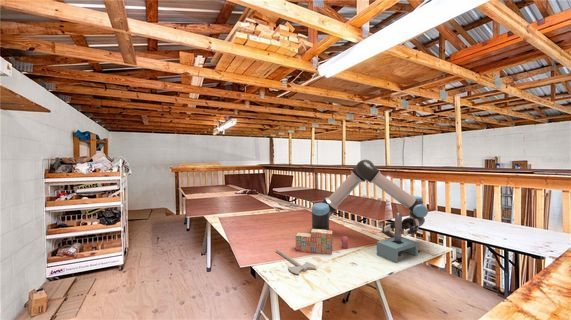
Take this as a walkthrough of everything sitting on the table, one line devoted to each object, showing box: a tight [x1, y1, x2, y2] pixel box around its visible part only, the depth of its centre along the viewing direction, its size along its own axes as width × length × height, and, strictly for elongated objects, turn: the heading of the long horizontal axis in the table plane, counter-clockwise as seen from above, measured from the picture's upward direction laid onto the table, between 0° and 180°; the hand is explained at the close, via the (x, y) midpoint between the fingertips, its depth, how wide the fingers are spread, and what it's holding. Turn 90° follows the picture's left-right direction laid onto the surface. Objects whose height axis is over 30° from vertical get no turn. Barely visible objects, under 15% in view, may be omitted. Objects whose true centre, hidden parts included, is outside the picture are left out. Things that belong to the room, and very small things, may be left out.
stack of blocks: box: [295, 228, 334, 255], centre depth 144 cm, size 21×6×12 cm, turn 75°
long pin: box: [394, 212, 403, 257], centre depth 137 cm, size 4×4×24 cm
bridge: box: [376, 236, 419, 263], centre depth 137 cm, size 20×12×8 cm, turn 120°
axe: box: [275, 248, 317, 275], centre depth 129 cm, size 30×14×2 cm, turn 31°
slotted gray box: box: [381, 227, 421, 253], centre depth 161 cm, size 40×2×5 cm, turn 9°
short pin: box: [341, 235, 349, 249], centre depth 149 cm, size 4×4×6 cm
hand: (394, 231), depth 134 cm, fingers open, 10 cm apart
